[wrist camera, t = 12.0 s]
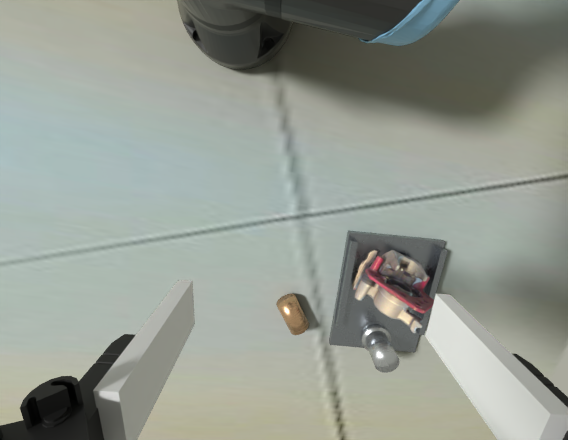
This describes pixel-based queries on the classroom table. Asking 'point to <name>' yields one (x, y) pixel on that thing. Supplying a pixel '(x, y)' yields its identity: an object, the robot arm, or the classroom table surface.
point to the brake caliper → (394, 286)
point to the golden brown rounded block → (293, 314)
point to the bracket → (363, 314)
